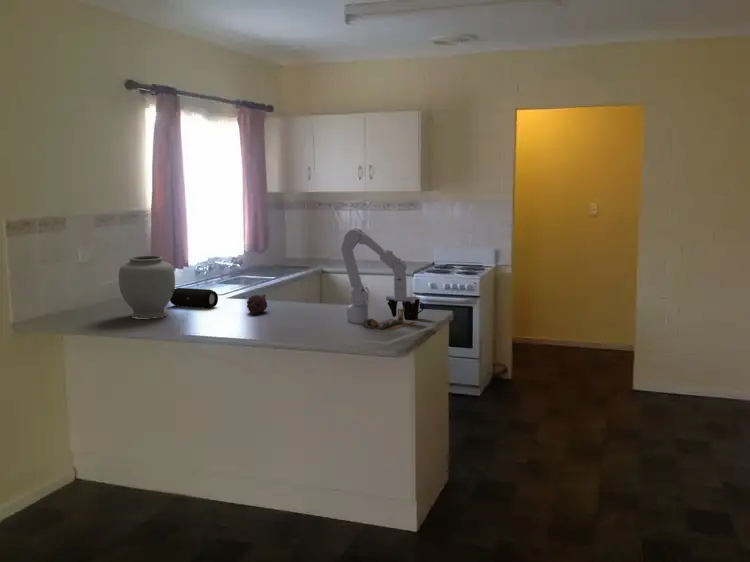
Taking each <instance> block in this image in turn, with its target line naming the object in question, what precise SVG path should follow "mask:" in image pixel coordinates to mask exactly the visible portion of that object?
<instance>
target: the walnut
mask: <svg viewBox="0 0 750 562" xmlns="http://www.w3.org/2000/svg"><path fill="white" fill-rule="evenodd" d="M377 323H378V321H377V320H376V319H374V320H372V321H371V322H370V325H371V326H374V327H376V326H377Z"/></svg>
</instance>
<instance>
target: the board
mask: <svg viewBox="0 0 750 562" xmlns="http://www.w3.org/2000/svg"><path fill="white" fill-rule="evenodd" d="M372 320H375V319H374V318H368V320H365V321H364V323H363V327H364V328H367V329H377V330H381V329H380V328H378V325H381V324H383V322H391V321H394V320H395V319H393V318H392V319H391V318H389V319H387V320H383V321H380V322H377V326H376V327H374V326H371V325H370V322H371V321H372ZM416 323H418V322H417V321H412V320H403V322H402V323H399V324H396V325H393V326H390V327H387V328H383V329H382V330H385V331H396V330H399V329H402V328H405V327H409V326H410V327H413V326H415V325H414V324H416Z"/></svg>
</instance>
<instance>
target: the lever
mask: <svg viewBox="0 0 750 562" xmlns="http://www.w3.org/2000/svg"><path fill="white" fill-rule="evenodd" d="M403 321H404V313H403V308H398V309H397V319H394V321H391V322H383V321H382V322H383V324H381V325H378V328H380V329H379V330H384V329H383V328H387V327H390V326H393V325H396V324H399V323H402V322H403Z"/></svg>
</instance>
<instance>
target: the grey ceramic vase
mask: <svg viewBox="0 0 750 562" xmlns="http://www.w3.org/2000/svg"><path fill="white" fill-rule="evenodd" d="M128 260H129V262H127V263H124V264H122V265H121V266H120V267H119V271H118V287H119V291H120V293H121V294H120V295H121V296H122V298H123V300H124V301H125V303H126V304H127V305H128V306H129V307H130V308H131V309H132V310H133V312H132V314H131V315H130V317H131V316H132V317H138V318H153V317H161V316H165V315H167V316H168V312H167V311H165V308H166V307H167V305H168V303H169V302H170V299H171V297H172V295H173V293H174V289H176V275H175V273H176V272H175V268H174V267H173V265H172V264H171V263H169V262H167V261H163V256H161V255H136V256H131V257H129V259H128ZM165 317H166V316H165Z"/></svg>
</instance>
